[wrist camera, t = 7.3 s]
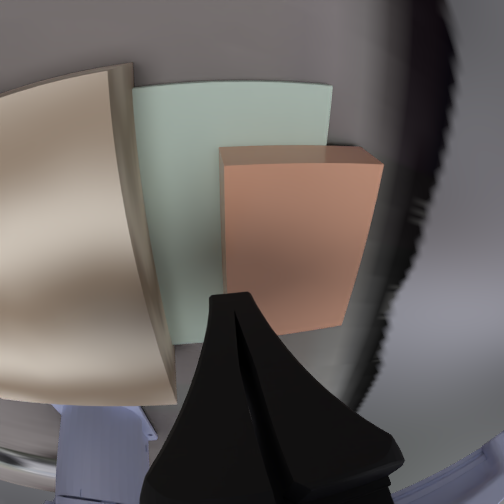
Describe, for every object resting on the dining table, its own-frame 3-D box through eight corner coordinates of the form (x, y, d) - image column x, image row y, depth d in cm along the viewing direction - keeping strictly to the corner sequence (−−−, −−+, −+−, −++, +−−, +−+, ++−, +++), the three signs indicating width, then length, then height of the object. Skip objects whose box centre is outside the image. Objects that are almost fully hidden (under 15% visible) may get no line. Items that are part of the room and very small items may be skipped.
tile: (228, 341, 16) (224, 312, 17) (341, 325, 17) (328, 299, 18) (224, 165, 10) (218, 147, 12) (383, 164, 11) (360, 147, 13)
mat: (294, 325, 20) (296, 331, 19) (172, 338, 19) (172, 344, 18) (327, 84, 12) (332, 86, 11) (134, 87, 10) (132, 88, 10)
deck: (174, 348, 19) (177, 404, 16) (14, 351, 17) (1, 398, 14) (132, 62, 10) (107, 70, 7) (-82, 129, 8) (-132, 164, 5)
